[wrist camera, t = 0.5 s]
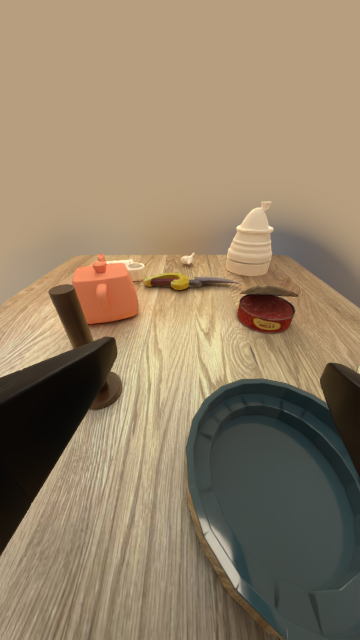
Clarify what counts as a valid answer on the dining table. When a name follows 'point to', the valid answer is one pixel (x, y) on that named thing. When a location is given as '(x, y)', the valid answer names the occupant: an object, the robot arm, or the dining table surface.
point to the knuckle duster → (133, 269)
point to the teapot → (105, 291)
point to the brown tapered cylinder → (82, 338)
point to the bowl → (278, 508)
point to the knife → (182, 280)
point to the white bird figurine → (187, 259)
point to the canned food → (266, 309)
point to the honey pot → (251, 245)
